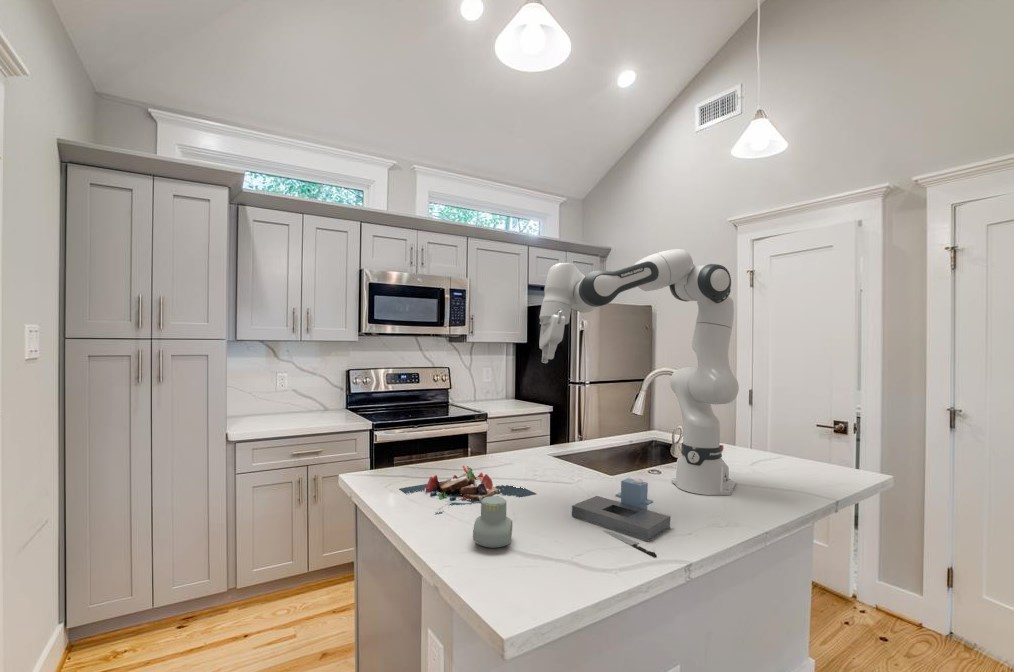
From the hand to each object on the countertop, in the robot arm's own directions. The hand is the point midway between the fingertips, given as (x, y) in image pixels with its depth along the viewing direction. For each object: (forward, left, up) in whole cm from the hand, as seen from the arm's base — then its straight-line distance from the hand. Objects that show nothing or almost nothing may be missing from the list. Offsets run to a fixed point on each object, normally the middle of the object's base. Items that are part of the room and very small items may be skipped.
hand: (547, 360), depth 144 cm
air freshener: (+31, +10, -41) cm, 52 cm away
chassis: (-2, +24, -41) cm, 47 cm away
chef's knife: (+7, +31, -42) cm, 52 cm away
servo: (-13, +22, -41) cm, 48 cm away
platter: (+10, -22, -42) cm, 49 cm away
